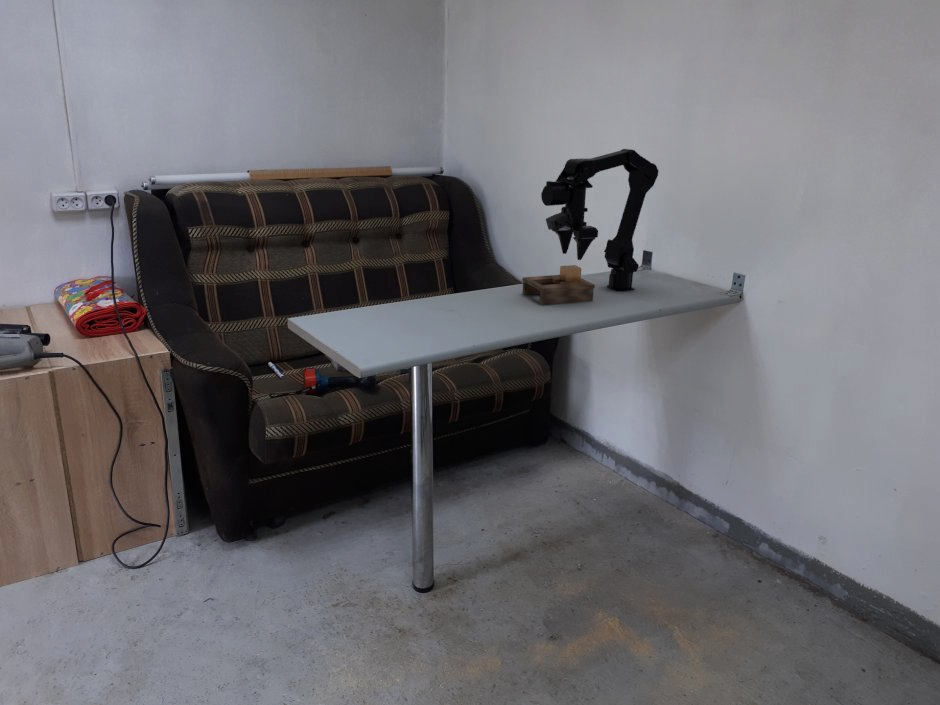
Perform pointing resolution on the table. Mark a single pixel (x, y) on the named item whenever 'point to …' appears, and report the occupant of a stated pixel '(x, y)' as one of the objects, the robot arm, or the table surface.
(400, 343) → the table surface
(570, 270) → the hanger peg
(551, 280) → the keyhole bracket
